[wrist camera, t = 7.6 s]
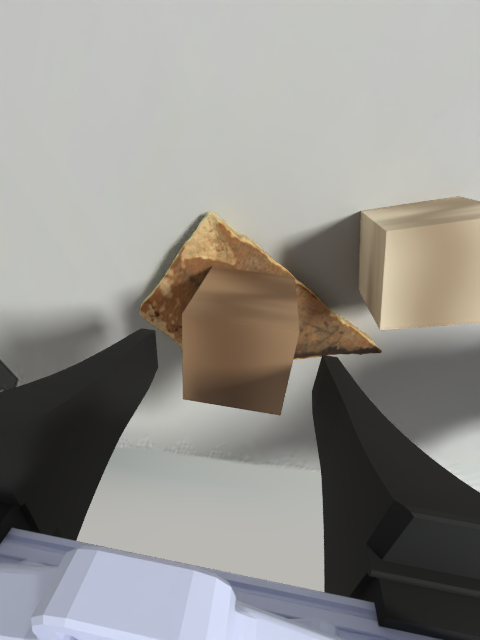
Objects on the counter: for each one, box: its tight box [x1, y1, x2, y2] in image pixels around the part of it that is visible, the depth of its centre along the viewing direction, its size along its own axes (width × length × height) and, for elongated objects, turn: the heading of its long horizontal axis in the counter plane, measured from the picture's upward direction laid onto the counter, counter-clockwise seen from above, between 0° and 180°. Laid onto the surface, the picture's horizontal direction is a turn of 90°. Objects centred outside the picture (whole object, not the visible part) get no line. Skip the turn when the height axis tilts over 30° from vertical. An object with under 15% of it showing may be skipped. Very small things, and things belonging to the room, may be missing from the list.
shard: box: [139, 211, 382, 359], centre depth 19 cm, size 13×9×2 cm
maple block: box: [359, 196, 480, 330], centre depth 14 cm, size 4×4×4 cm
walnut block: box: [182, 266, 300, 415], centre depth 15 cm, size 4×4×6 cm
